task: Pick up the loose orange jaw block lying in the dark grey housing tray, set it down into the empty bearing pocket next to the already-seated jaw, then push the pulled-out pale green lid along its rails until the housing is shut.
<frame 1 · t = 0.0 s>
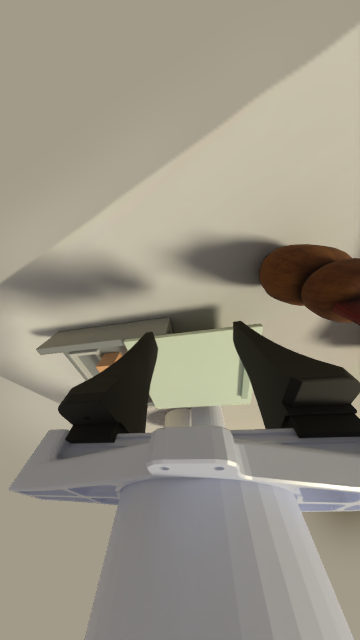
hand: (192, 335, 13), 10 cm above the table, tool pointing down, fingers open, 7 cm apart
wooden figurine: (276, 266, 19), on the table
housing: (129, 360, 29), on the table
teardrop: (183, 417, 42), on the table
lid: (196, 377, 23), point 5 cm above the table, slide at 15.0 cm
jaw block: (119, 365, 29), point 1 cm above the table, touching housing
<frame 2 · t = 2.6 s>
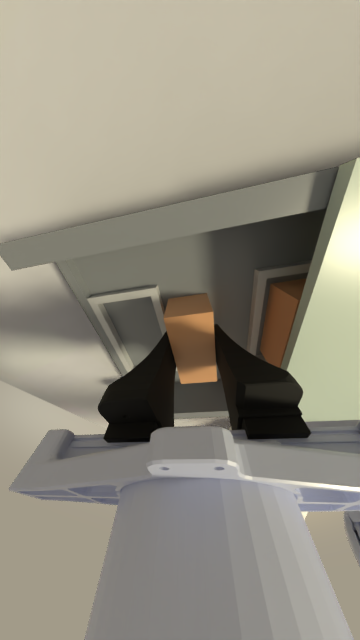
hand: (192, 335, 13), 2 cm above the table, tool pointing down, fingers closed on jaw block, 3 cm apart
housing: (209, 322, 14), on the table
jaw block: (192, 329, 13), point 1 cm above the table, touching gripper, housing
when the fingers open (3 cm above the table, at t = 5.0 s): jaw block stays where it is, resting on housing.
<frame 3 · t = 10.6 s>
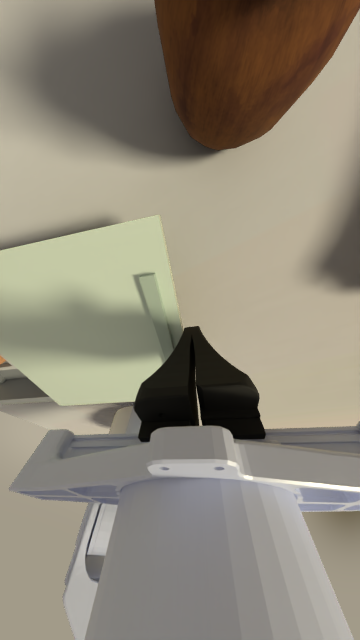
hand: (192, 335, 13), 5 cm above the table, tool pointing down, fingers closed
wooden figurine: (222, 102, 9), on the table
housing: (29, 332, 20), on the table
teardrop: (139, 417, 32), on the table
lid: (88, 351, 13), point 5 cm above the table, slide at 13.8 cm, touching gripper
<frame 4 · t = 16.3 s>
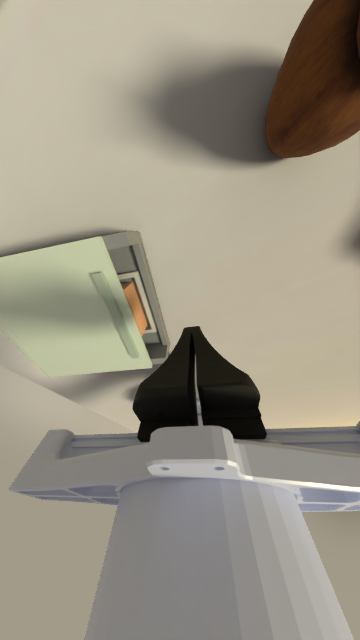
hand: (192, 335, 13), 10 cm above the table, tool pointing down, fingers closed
wooden figurine: (291, 124, 13), on the table
housing: (95, 308, 23), on the table
lid: (65, 328, 19), point 5 cm above the table, slide at 0.1 cm
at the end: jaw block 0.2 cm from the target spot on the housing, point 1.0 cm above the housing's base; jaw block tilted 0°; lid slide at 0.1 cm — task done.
